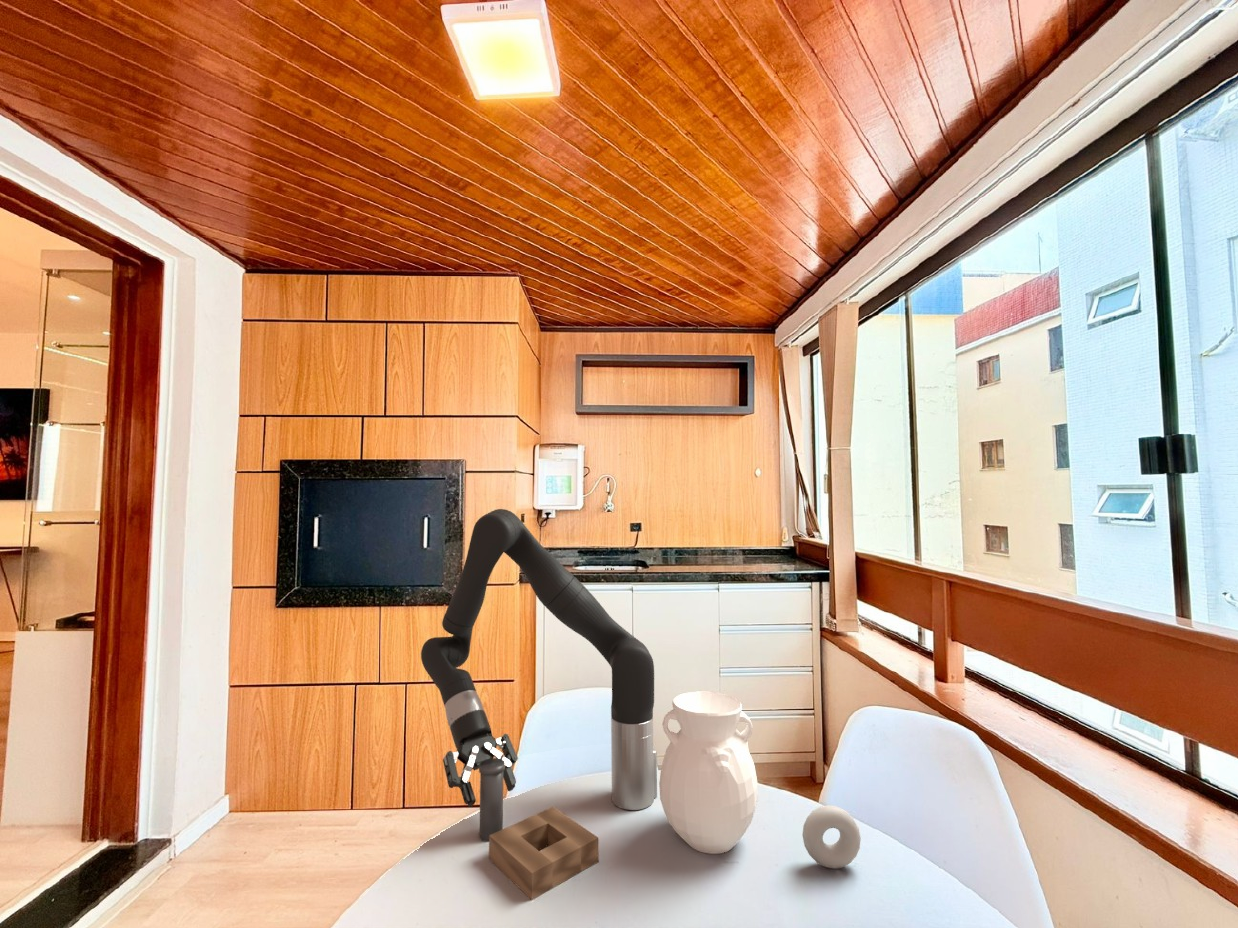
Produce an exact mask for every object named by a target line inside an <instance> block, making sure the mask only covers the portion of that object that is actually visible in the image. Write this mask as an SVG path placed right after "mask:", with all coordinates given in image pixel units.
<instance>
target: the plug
mask: <svg viewBox="0 0 1238 928" xmlns="http://www.w3.org/2000/svg"><path fill="white" fill-rule="evenodd" d="M504 770H505V761H504V760H503V759H499V758H495V757H494V758H491V759H487V760H484V761H482V762H481V763H480V764H479V769H478V773H479V774H480V776H479V779H480V781H479V782H480V783H479V790H480V791H479V829H478V830H479V834H478V835H479V836H478V837H479V839H480V840H481V841H483V842H489V835H491V834H494V833H496V832H498V831H500V830H503V829H504V827H503V826H504V825H503V824H504V778H503V771H504Z"/></svg>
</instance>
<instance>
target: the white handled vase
mask: <svg viewBox="0 0 1238 928" xmlns="http://www.w3.org/2000/svg"><path fill="white" fill-rule="evenodd" d="M671 704H672V708H673V709H672V710H670V711H668V712H667V713H666V714H665V715H664V717H663V720H662V729H663V732H664V734H665V735H666V737H667V738H668V740H669V742H670V743H669V744H668V746H667V747H666V750H665V754H664V756H663V759H662V762H661V767H660V773H659V781H658V782H659V783H658V785H659V799H660V802H661V807H662V808H663V809H662V810H663V812H664V815H665V818H666V820H667V821H668V823H669V824H670V826H671V828H672V829H673V830H674V831H675V833H677V835H679V837H681V838H682V839H683V841H684V842H686V843H687V844H688V845H689V846H690V847H691V848H692V849H694V850H696V851H698V852H701V853H705V854H709V855H717V854H718V855H719V854H725V853H728V852H729V851H731V850H732V849H733V848H734V847H735V845H736V844H737V843H738V842H739V841H740V840H741V838H742V837H743V836H744V834H745V833H746V831H747V830H748V828H749V826H750V825H751V823H752V821H753V818H754V814H755V811H756V807H757V803H758V790H759V789H758V787H759V785H758V779H757V778H758V777H757V773H756V772H757V771H756V767H755V763H754V760H753V758H752V755H751V753H750V751H749V744H748V741H749V739H750V738H751V736H752V734H753V723H752V721H751V719H750V717H749V716H748V715H747V714H746V713H745V712H744V711H742V709H743V708H742V707H743V705H742V703H741V702H740V700H739V699H738V698H736V697H734V696H732V695H729V694H725V693H721V692H716V691H709V690H708V691H701V690H698V691H690V692H686V693H685V692H684V693H681V694H679V695H677V696H676V697H674V698H673V700H672V703H671ZM670 720H674V721H677V723H678V724H679V728H680V729H679V730H678V732H674V731H671V730H670V729H669V727H668V725H669V722H670ZM743 722H744V723H745V724H746V726H745V729H744V730H742V731H741V732H740V731H739V730H738V729H737V728H738V725H739V723H743ZM724 852H725V853H724Z"/></svg>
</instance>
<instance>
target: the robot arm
mask: <svg viewBox="0 0 1238 928" xmlns="http://www.w3.org/2000/svg"><path fill="white" fill-rule="evenodd" d="M503 554H505V555H507V556H508V557H509V558H510V559H511V560H512V561H514V563H515V564H516V565H517V566H518V567H519V569H521V571H522V572H523V573H524V576H525V577H526V579H527V581H528V583H529V584H530V587H531V588H532V591H533V593H534V594H535V596H536V597H537V599H538V600H539V602H540V603H541V604H542V605H543V606H544V607H545V608H546V609H547V610H548V611H549V612H550V613H551V614H552V615H553V616H554V617H555V618H556V619H557V620H559V621H560V622H561V623H562V624H563V625H565V626H566V627H568V628H569V629H570V630H571V631H573V632H575V633H576V634H578V635H579V636H581V637H583V638H584V639H586V640H587V641H588V642H589V643H590V644H591V645H592V646H593V647H594V648H595V649H596V650H597V651H598V652H599V654H600V655H601V656H602V657H603V658H604V659H605V661H607V663H608V665H609V667H611V706H610V713H611V714H610V715H611V716H610V721H611V723H610V724H611V725H610V727H611V732H610V733H611V738H610V739H611V740H610V741H611V743H610V744H611V748H610V749H611V755H610V756H611V757H610V758H611V759H610V760H611V801H612V803H613V804H614V805H615V806H616V807H618V808H620V809H623V810H626V811H627V810H629V811H639V810H643V809H647V808H648V807H650V806H651V805H653V803H654V800H655V799H656V798H657V797H658V773H657V772H658V771H657V770H658V769H657V768H658V767H657V766H658V760H657V758H658V757H657V751H656V750H655V749H654V717H653V716H654V707H655V665H654V659H653V657H652V654H651V653H650V651H649V649H648V647H647V646H646V645H645V644H644V643H643V642H641V641H640V640H639V639H638V638H636V637H635V636H634V635H632V634H631V632H629V631H627V630H626V629H625V628H623V627H622V626H621V625H620V624H619V623H618V622H617V621H615V620H614V619H613V618H612V616H611V615H610V614H609V613H608V612H607V611H606V610H605V608H604V607H603V606H602V605H601V604H600V602H599V601H598V600H597V598H596V597H595V596H594V595H593V594H592V593H591V592H590V591H589V590H588V588H586V586H585V585H584V584H583V583H582V582H581V581H580V580H579V579H578V578H577V577H576V576H575V575H573V574H572V572H570V571H569V570H568V569H567V568H566V567H565V566H564V565H563V564H562V563H561V562H560V561H559V560H558V559H557V558H555V557H554V555H552V554H551V553H550V552H549V551H548V550H547V549H546V548H545V547H544V546H543V545H542V544H541V542H539V541H538V540H537V538H536V537H535V536H534V535H533V534H532V533H531V531H530V530H529V529H528V527H527V526H526V525H525V524H524V522H523V521H522V520H521V519H520V518H519V517H518V516H517V514H515V513H513V512H512V511H510V510H508V509H503V508H498V509H494V510H492V511H490V512H488V513H486V514H484V515H482V516H481V517H479V519H478V520H477V521H476V522H475V524H474V526H473V529H472V533H471V537H470V541H469V545H468V550H467V554H466V557H465V563H464V565H463V568H462V571H461V574H460V578H459V580H458V582H457V584H456V587H455V589H454V592H453V594H452V596H451V599H450V601H449V603H448V606H447V608H446V611H445V613H444V615H443V618H442V623H441V626H442V628H443V629H444V631H445V632H447V633H448V634H451V635H452V636H436V637H432V638H429V639H427V640H426V641H425V642H424V644H423V645H422V648H421V652H420V658H421V663H422V666H423V668H424V670H425V672H426V673H427V675H428V676H429V677H430V679H431V680H432V682H433V683H434V684H435V686H436V687H437V689H438V690H439V692H440V696H441V700H442V703H443V705H444V709H445V716H446V720H447V725H448V726H449V730H450V733H451V737H452V739H453V742H454V746H455V748H456V751H455V752H453V751H451V750H447V752H446V754H445V755H444V757H443V758H442V761H443V762H442V763H443V767H444V772H445V776H446V781H447V784H448V788H450V789H453V788H459V790H460V792H461V795H462V799H463V803H464V804H465V805H467V806H468V807H473V806H474V805H475V803H476V801H477V800H476V796H475V793H474V788H473V786H472V783H471V781H469V779H470V776H471V773H472V770H473V771H477V770H479V764H480V763H481V762H482V761H484V760H487V759H491V758H499V759H503V760H504V761H505V770H504V771H503V782H504V784H505V787H506V789H507V791H508V792H511V791H513V790H514V789H515V788H516V784H517V779H516V777H515V774H514V771H513V768H512V767H513V766H514V765H515V763H516V762H517V761H518V760H519V756H518V755H517V753H516V750H515V748H514V745H513V743H512V740H511V739H510V736H509V734H507V733H504V734H503V735H502V736H501V737H498V738H495V737H494V735H493V733H492V728H491V726H490V722H489V720H488V717H487V714H486V712H485V708H484V706H483V703H482V700H481V698H480V697H479V694H478V692H477V689H476V687H475V683H474V681H473V678H472V676H471V674H470V672H469V671H468V670H465V669H462V668H460V667H461V666H463V665H464V664H465V663H466V662H467V660H468V658H469V655H470V650H471V640H472V636H473V635H472V634H473V629H474V626H475V623H476V621H477V618H478V616H479V613H480V612H481V610H482V607H483V604H484V601H485V597H486V593H487V586H488V583H489V580H490V576H491V574H492V572H493V570H494V569H495V567H496V564H497V563H498V562H499V560H500V558H501V557H502V555H503ZM497 747H498V748H499V750H498V749H497ZM500 750H501V751H502V752H501V751H500ZM457 760H458V761H460V762H461V763H462V764H463V767H462V771H461V773H460V776H459V774H458V770H457V765H456V763H457Z"/></svg>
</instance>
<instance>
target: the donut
mask: <svg viewBox="0 0 1238 928" xmlns="http://www.w3.org/2000/svg"><path fill="white" fill-rule="evenodd" d="M802 827H803V829H802V840H803V841H802V842H803V845H804V847H805V850H806V851H807V854H808V855H809V856H810V857H811V858H812V859H813V860H814V861H815V863H817V864H818V865H821V866H823V867H824V868H829V869H834V870H835V869H840V868H841V869H842V868H844V867H846V866H848V865H849V864H851V863H852V862H853V860H855V859H856V857H857V855H858V853H859V851H860V849H861V848H860V847H861V840H862V839H861V834H860V833H861V832H860V829H859V826H858V824H857V822H856V820H855V818H854V817H853V816H851V814H850V813H849V812H847V811H846V810H845V809H843V808H841V807H839V806H835V805H828V804H827V805H821V806H819V807H817V808H815V809H814V810H812V811H811V812H810V813H809V815H807V817H806V818H805V821H804V823H803V826H802ZM830 829H836V830H837V831H838V832H839V838H838V840H837V841H836V842H834V843H832V844H827V843H825V841H824V840H823V837H824V834H825V833H826V832H827V831H828V830H830Z"/></svg>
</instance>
